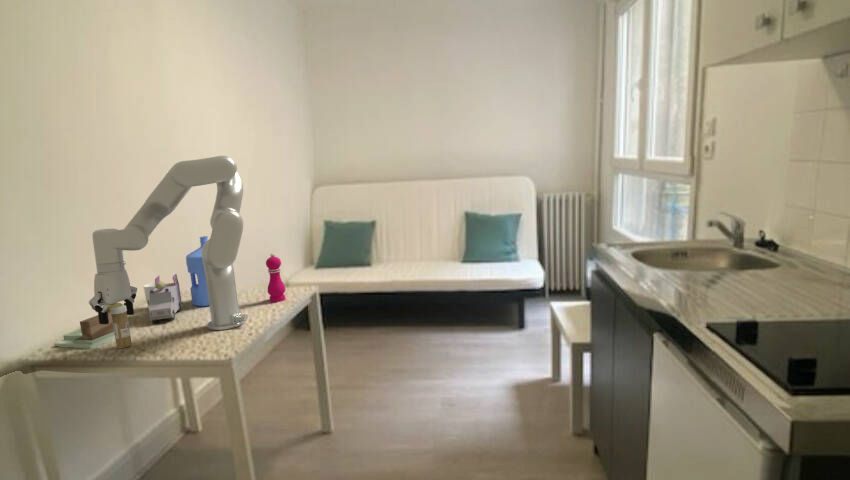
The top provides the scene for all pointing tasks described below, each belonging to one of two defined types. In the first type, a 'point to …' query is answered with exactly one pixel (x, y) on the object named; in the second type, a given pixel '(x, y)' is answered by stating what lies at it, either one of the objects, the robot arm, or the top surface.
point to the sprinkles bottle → (121, 326)
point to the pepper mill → (275, 279)
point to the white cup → (147, 290)
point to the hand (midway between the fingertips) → (117, 319)
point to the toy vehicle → (164, 300)
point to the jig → (77, 340)
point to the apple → (112, 306)
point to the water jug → (198, 276)
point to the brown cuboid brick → (95, 328)
